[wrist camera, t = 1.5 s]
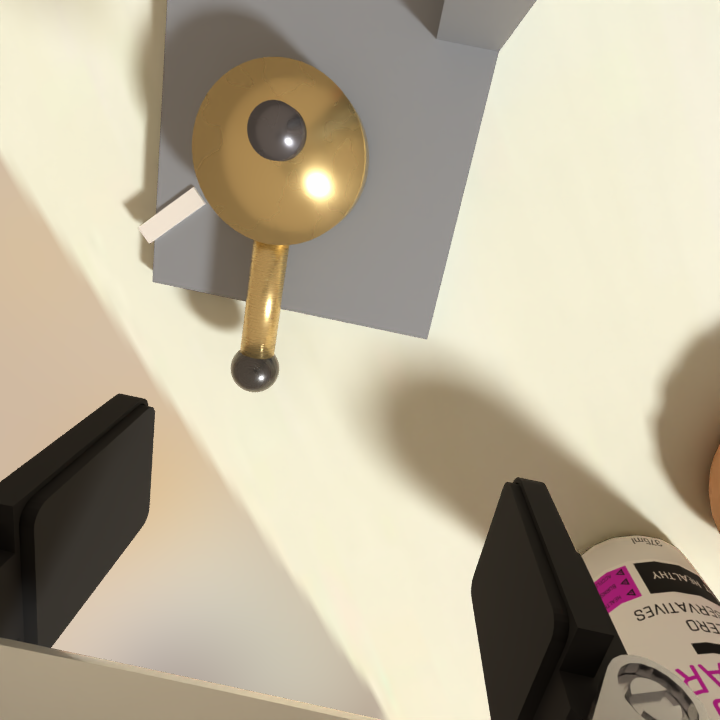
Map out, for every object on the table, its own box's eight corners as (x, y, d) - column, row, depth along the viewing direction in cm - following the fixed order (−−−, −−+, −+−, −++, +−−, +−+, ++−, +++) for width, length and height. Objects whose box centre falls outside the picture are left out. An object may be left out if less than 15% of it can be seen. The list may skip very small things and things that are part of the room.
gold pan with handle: (222, 55, 25) (188, 33, 21) (383, 88, 25) (379, 71, 21) (195, 363, 31) (165, 390, 27) (327, 391, 31) (316, 422, 27)
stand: (167, -149, 24) (-92, -505, 11) (528, -78, 24) (663, -362, 11) (147, 274, 31) (-30, 341, 18) (426, 333, 30) (440, 440, 18)
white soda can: (579, 636, 37) (686, 920, 23) (547, 546, 35) (645, 799, 21) (699, 610, 35) (893, 898, 21) (674, 513, 33) (873, 763, 19)
